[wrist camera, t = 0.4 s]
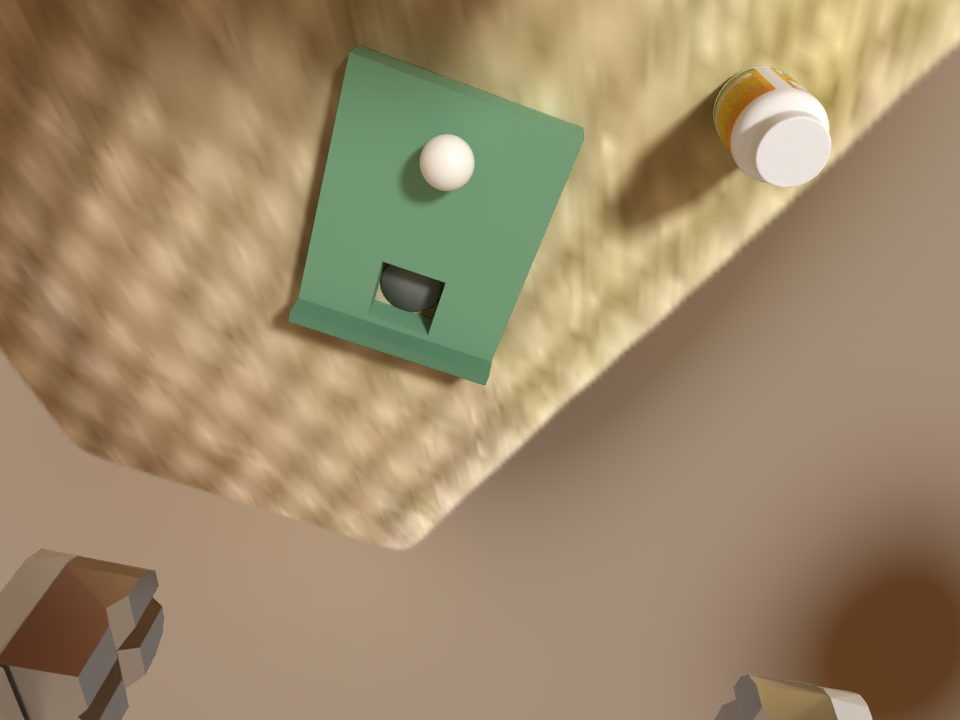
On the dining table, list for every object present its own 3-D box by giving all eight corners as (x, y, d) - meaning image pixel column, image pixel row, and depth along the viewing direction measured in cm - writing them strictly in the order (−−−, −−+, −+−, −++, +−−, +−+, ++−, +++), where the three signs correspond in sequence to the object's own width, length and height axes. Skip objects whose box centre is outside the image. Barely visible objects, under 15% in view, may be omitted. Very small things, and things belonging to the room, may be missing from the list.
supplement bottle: (707, 149, 49) (735, 202, 41) (716, 66, 46) (748, 105, 38) (789, 146, 48) (834, 199, 40) (804, 62, 45) (856, 100, 37)
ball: (432, 119, 47) (423, 135, 44) (484, 138, 47) (478, 155, 44) (418, 169, 49) (409, 188, 46) (467, 187, 49) (461, 206, 46)
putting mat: (358, 45, 47) (341, 59, 43) (583, 127, 49) (584, 148, 45) (305, 293, 58) (288, 321, 54) (489, 354, 60) (485, 385, 56)
